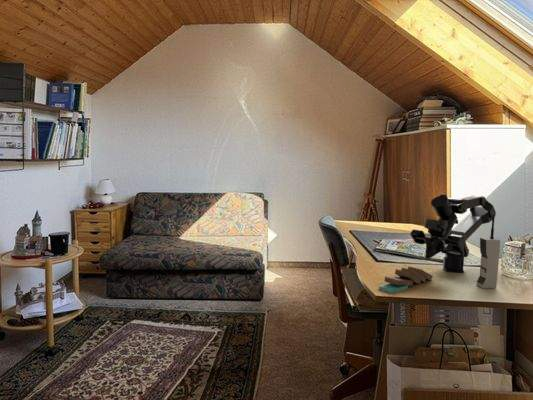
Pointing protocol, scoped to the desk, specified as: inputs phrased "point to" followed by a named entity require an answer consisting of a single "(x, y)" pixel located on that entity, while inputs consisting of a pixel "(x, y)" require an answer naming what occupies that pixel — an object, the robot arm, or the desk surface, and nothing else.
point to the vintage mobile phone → (489, 260)
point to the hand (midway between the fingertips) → (426, 258)
